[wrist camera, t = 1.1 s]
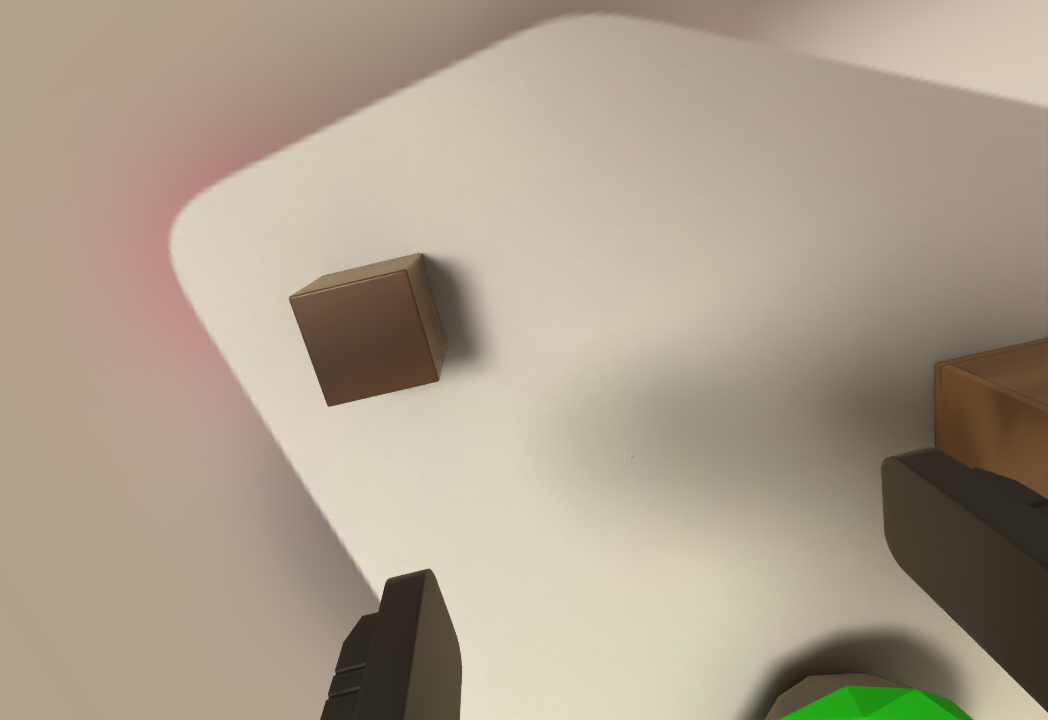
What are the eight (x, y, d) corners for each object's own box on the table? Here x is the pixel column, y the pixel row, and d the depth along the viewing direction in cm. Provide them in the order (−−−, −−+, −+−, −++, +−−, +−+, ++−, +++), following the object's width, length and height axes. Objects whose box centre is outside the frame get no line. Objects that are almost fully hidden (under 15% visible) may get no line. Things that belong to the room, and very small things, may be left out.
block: (321, 275, 23) (287, 297, 19) (420, 252, 23) (406, 268, 19) (353, 370, 24) (327, 407, 20) (447, 348, 24) (439, 382, 20)
